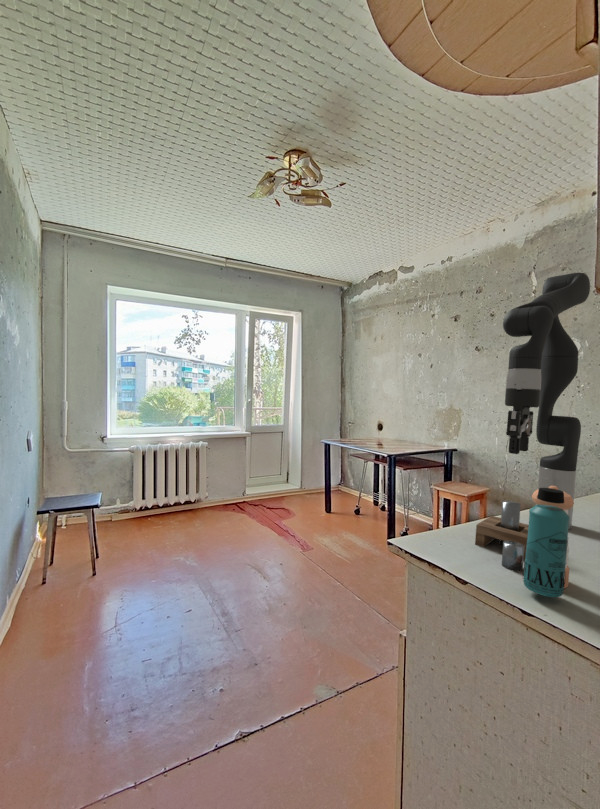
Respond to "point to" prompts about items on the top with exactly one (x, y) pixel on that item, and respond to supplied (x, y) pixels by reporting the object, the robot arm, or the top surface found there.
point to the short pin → (513, 555)
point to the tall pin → (510, 516)
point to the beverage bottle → (546, 545)
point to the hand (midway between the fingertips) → (518, 452)
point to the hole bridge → (499, 532)
